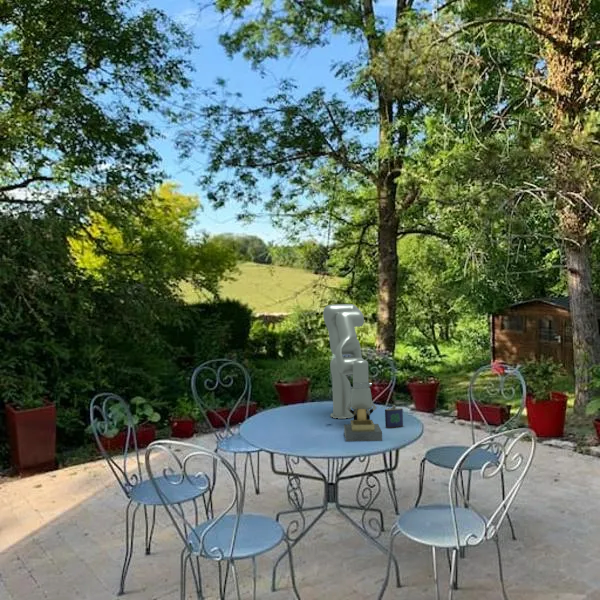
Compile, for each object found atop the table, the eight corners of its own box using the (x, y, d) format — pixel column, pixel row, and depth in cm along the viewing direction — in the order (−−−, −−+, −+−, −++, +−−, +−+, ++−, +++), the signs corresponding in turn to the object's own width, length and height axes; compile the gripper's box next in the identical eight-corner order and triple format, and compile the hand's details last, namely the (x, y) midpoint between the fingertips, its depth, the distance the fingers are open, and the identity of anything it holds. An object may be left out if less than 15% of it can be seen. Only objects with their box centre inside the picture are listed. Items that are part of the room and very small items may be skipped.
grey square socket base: (344, 432, 250) (343, 419, 250) (378, 432, 250) (377, 418, 250) (346, 441, 236) (345, 426, 236) (382, 440, 236) (381, 426, 236)
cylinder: (356, 427, 259) (355, 404, 259) (366, 427, 259) (366, 404, 259) (357, 430, 254) (356, 406, 254) (367, 430, 254) (367, 406, 254)
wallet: (401, 425, 261) (401, 403, 261) (404, 426, 258) (403, 405, 258) (384, 427, 259) (383, 405, 258) (387, 428, 256) (386, 406, 256)
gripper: (377, 383, 260) (378, 420, 260) (342, 384, 260) (343, 421, 261) (379, 386, 252) (380, 424, 253) (343, 387, 253) (344, 425, 253)
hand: (361, 422), depth 257 cm, fingers closed on cylinder, 5 cm apart
